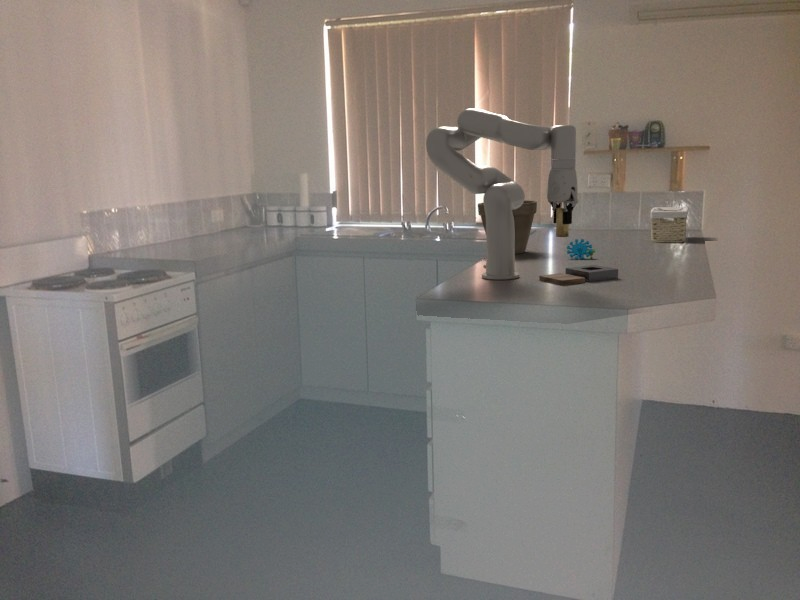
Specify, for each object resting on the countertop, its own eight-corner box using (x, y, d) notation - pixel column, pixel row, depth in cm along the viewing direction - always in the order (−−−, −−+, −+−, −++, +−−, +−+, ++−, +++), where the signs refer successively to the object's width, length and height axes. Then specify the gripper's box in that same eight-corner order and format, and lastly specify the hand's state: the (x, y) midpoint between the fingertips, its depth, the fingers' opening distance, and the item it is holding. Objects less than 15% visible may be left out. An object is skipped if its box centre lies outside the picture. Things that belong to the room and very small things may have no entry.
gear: (563, 255, 282) (570, 235, 286) (564, 264, 287) (571, 245, 291) (591, 260, 277) (598, 240, 282) (591, 269, 282) (598, 249, 286)
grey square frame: (565, 276, 241) (565, 268, 240) (593, 273, 246) (593, 264, 245) (588, 281, 230) (589, 272, 230) (618, 278, 235) (618, 269, 235)
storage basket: (686, 243, 322) (688, 210, 319) (648, 242, 328) (649, 210, 325) (687, 237, 343) (688, 206, 340) (651, 237, 349) (652, 206, 347)
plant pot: (473, 256, 301) (472, 204, 297) (483, 248, 325) (483, 200, 321) (533, 256, 294) (533, 203, 290) (539, 249, 317) (539, 199, 313)
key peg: (553, 236, 231) (553, 208, 229) (563, 235, 232) (563, 207, 231) (561, 237, 227) (561, 208, 226) (571, 236, 229) (571, 208, 227)
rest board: (539, 280, 236) (539, 275, 236) (561, 277, 240) (561, 273, 239) (562, 285, 225) (562, 280, 225) (584, 282, 229) (585, 277, 229)
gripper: (537, 166, 232) (537, 222, 235) (570, 165, 217) (569, 226, 220) (556, 165, 235) (555, 221, 238) (590, 164, 220) (589, 224, 223)
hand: (562, 223), depth 229 cm, fingers closed on key peg, 4 cm apart
